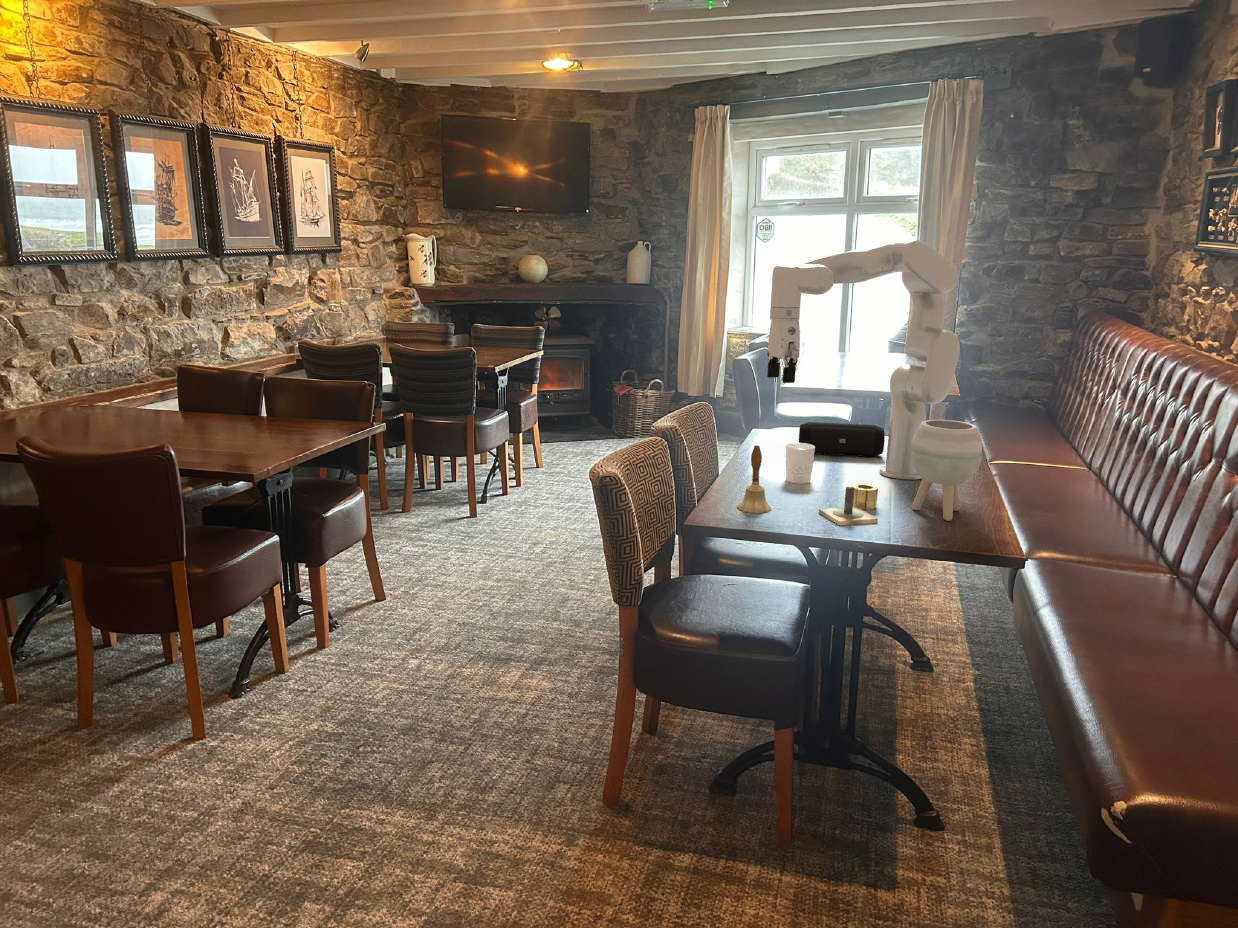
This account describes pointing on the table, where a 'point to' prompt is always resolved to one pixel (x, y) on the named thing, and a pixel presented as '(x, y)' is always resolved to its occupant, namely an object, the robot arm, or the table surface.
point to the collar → (865, 496)
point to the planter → (945, 459)
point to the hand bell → (755, 488)
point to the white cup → (799, 462)
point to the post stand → (848, 512)
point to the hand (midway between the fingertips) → (780, 380)
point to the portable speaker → (843, 438)
